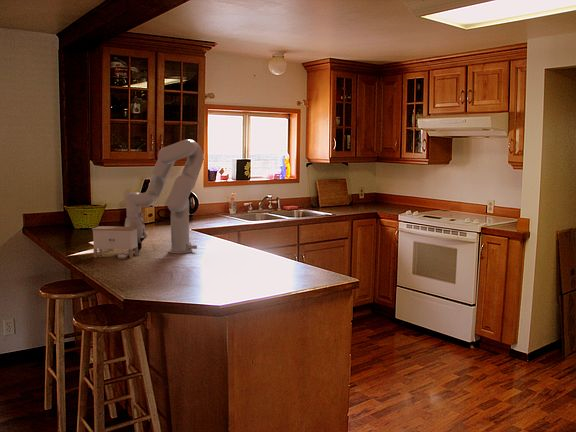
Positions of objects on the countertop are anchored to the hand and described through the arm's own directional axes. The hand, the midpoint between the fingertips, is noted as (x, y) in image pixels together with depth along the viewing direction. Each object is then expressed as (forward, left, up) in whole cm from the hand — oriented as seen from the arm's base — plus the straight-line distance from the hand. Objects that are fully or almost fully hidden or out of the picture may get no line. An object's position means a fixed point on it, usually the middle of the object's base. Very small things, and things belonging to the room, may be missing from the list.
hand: (135, 249), depth 306 cm
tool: (0, +6, -1) cm, 7 cm away
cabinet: (+5, +13, -1) cm, 14 cm away
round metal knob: (0, +17, -1) cm, 17 cm away
